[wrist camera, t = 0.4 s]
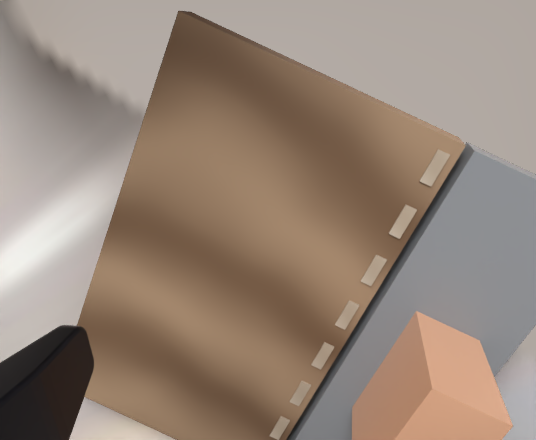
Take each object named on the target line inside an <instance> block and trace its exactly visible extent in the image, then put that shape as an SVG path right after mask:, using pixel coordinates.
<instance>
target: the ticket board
mask: <svg viewBox="0 0 536 440" xmlns="http://www.w3.org/2000/svg"><path fill="white" fill-rule="evenodd" d="M465 146H466V145H465V144H464V143H463V142H462V141H461V140H460V138H459V137H457V136H454V135H452V134H450V133H448V132H446V131H444V130H442V129H439V128H437V127H435V126H433V125H431V124H429V123H427V122H425V121H422V120H420V119H418V118H416V117H414V116H412V115H409V114H407V113H405V112H403V111H401V110H399V109H397V108H395V107H392V106H390V105H388V104H386V103H384V102H382V101H380V100H378V99H375V98H373V97H371V96H369V95H367V94H364V93H363V92H360V91H358V90H356V89H354V88H352V87H350V86H348V85H346V84H343V83H341V82H339V81H337V80H335V79H333V78H331V77H328V76H326V75H324V74H322V73H320V72H318V71H316V70H314V69H311V68H309V67H307V66H305V65H303V64H301V63H299V62H296V61H294V60H292V59H290V58H288V57H286V56H284V55H282V54H279V53H277V52H275V51H273V50H271V49H269V48H267V47H265V46H262V45H260V44H258V43H256V42H254V41H251V40H250V39H247V38H245V37H243V36H241V35H239V34H237V33H234V32H233V31H230V30H228V29H226V28H224V27H222V26H219V25H218V24H215V23H213V22H211V21H209V20H207V19H205V18H202V17H200V16H198V15H196V14H194V13H192V12H186V11H178V14H177V17H176V20H175V24H174V26H173V29H172V33H171V36H170V39H169V42H168V45H167V48H166V51H165V54H164V57H163V61H162V64H161V67H160V70H159V73H158V76H157V79H156V82H155V85H154V88H153V91H152V95H151V98H150V101H149V104H148V107H147V110H146V113H145V116H144V119H143V122H142V126H141V129H140V132H139V135H138V138H137V141H136V144H135V147H134V150H133V153H132V157H131V160H130V163H129V166H128V169H127V172H126V175H125V178H124V181H123V184H122V188H121V191H120V194H119V197H118V200H117V203H116V206H115V209H114V212H113V215H112V219H111V222H110V225H109V228H108V231H107V234H106V237H105V240H104V243H103V246H102V250H101V253H100V256H99V259H98V262H97V265H96V268H95V271H94V274H93V277H92V281H91V284H90V287H89V290H88V293H87V296H86V299H85V302H84V305H83V308H82V312H81V315H80V318H79V321H78V324H77V326H81V327H84V328H85V330H86V332H87V335H88V339H89V342H90V346H91V350H92V354H93V357H94V369H93V373H92V376H91V379H90V382H89V385H88V388H87V390H86V393H85V396H84V397H86V398H88V399H90V400H93V401H95V402H97V403H99V404H101V405H103V406H105V407H108V408H110V409H112V410H114V411H116V412H118V413H121V414H123V415H125V416H127V417H129V418H131V419H133V420H136V421H138V422H140V423H142V424H144V425H146V426H148V427H151V428H153V429H155V430H157V431H159V432H161V433H163V434H166V435H168V436H170V437H172V438H174V439H176V440H286V439H287V437H288V436H289V434H290V433H291V431H292V429H293V428H294V426H295V424H296V423H297V421H298V419H299V418H300V416H301V415H302V413H303V411H304V410H305V408H306V406H307V405H308V403H309V401H310V400H311V398H312V397H313V395H314V393H315V392H316V390H317V388H318V387H319V385H320V383H321V382H322V380H323V379H324V377H325V375H326V374H327V372H328V370H329V369H330V367H331V365H332V364H333V362H334V361H335V359H336V357H337V356H338V354H339V352H340V351H341V349H342V347H343V346H344V344H345V343H346V341H347V339H348V338H349V336H350V334H351V333H352V331H353V329H354V328H355V326H356V325H357V323H358V321H359V320H360V318H361V316H362V315H363V313H364V312H365V310H366V308H367V307H368V305H369V303H370V302H371V300H372V298H373V297H374V295H375V294H376V292H377V290H378V289H379V287H380V285H381V284H382V282H383V280H384V279H385V277H386V276H387V274H388V272H389V271H390V269H391V267H392V266H393V264H394V262H395V261H396V259H397V258H398V256H399V254H400V253H401V251H402V249H403V248H404V246H405V244H406V243H407V241H408V240H409V238H410V236H411V235H412V233H413V231H414V230H415V228H416V226H417V225H418V223H419V222H420V220H421V218H422V217H423V215H424V213H425V212H426V210H427V208H428V207H429V205H430V204H431V202H432V200H433V199H434V197H435V195H436V194H437V192H438V190H439V189H440V187H441V186H442V184H443V182H444V181H445V179H446V177H447V176H448V174H449V172H450V171H451V169H452V168H453V166H454V164H455V163H456V161H457V159H458V158H459V156H460V154H461V153H462V151H463V150H464V148H465Z"/></svg>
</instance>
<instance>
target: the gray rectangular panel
mask: <svg viewBox="0 0 536 440" xmlns="http://www.w3.org/2000/svg"><path fill="white" fill-rule="evenodd" d="M465 145H466V146H465V148H464V150H463V151H462V153H461V154H460V156H459V158H458V159H457V161H456V163H455V164H454V166H453V168H452V169H451V171H450V172H449V174H448V176H447V177H446V179H445V181H444V182H443V184H442V186H441V187H440V189H439V190H438V192H437V194H436V195H435V197H434V199H433V200H432V202H431V204H430V205H429V207H428V208H427V210H426V212H425V213H424V215H423V217H422V218H421V220H420V222H419V223H418V225H417V226H416V228H415V230H414V231H413V233H412V235H411V236H410V238H409V240H408V241H407V243H406V244H405V246H404V248H403V249H402V251H401V253H400V254H399V256H398V258H397V259H396V261H395V262H394V264H393V266H392V267H391V269H390V271H389V272H388V274H387V276H386V277H385V279H384V280H383V282H382V284H381V285H380V287H379V289H378V290H377V292H376V294H375V295H374V297H373V298H372V300H371V302H370V303H369V305H368V307H367V308H366V310H365V312H364V313H363V315H362V316H361V318H360V320H359V321H358V323H357V325H356V326H355V328H354V329H353V331H352V333H351V334H350V336H349V338H348V339H347V341H346V343H345V344H344V346H343V347H342V349H341V351H340V352H339V354H338V356H337V357H336V359H335V361H334V362H333V364H332V365H331V367H330V369H329V370H328V372H327V374H326V375H325V377H324V379H323V380H322V382H321V383H320V385H319V387H318V388H317V390H316V392H315V393H314V395H313V397H312V398H311V400H310V401H309V403H308V405H307V406H306V408H305V410H304V411H303V413H302V415H301V416H300V418H299V419H298V421H297V423H296V424H295V426H294V428H293V429H292V431H291V433H290V434H289V436H288V437H287V439H286V440H502V438H503V437H504V436H505V435H506V434H507V433H508V432H509V430H510V429H511V428H512V427H513V425H512V422H511V420H510V417H509V415H508V412H507V409H506V407H505V404H504V402H503V399H502V397H501V394H500V391H499V389H498V386H497V384H496V381H495V379H494V377H495V375H496V374H497V373H498V372H499V370H500V369H501V368H502V367H503V365H504V364H505V363H506V362H507V360H508V359H509V358H510V357H511V355H512V354H513V353H514V351H515V350H516V349H517V348H518V346H519V345H520V344H521V343H522V341H523V340H524V339H525V338H526V336H527V335H528V334H529V333H530V331H531V330H532V329H533V328H534V326H535V325H536V174H533V173H531V172H529V171H527V170H525V169H523V168H521V167H519V166H517V165H514V164H512V163H510V162H508V161H506V160H504V159H502V158H499V157H497V156H495V155H493V154H491V153H489V152H487V151H485V150H482V149H480V148H478V147H476V146H474V145H471V144H470V143H466V144H465Z"/></svg>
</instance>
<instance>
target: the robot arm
mask: <svg viewBox="0 0 536 440" xmlns="http://www.w3.org/2000/svg"><path fill="white" fill-rule="evenodd" d="M93 369H94V357H93V354H92V350H91V346H90V342H89V339H88V335H87V332H86V330H85V328H84V327H81V326H73V325H62V326H59V327H57V328H56V329H54V330H53V331H51V332H49V333H48V334H46V335H44V336H43V337H41V338H40V339H38V340H36V341H35V342H33V343H31V344H30V345H28V346H27V347H25V348H23V349H22V350H20V351H19V352H17V353H15V354H14V355H12V356H10V357H9V358H7V359H6V360H4V361H2V362H1V363H0V440H69V438H70V435H71V433H72V430H73V427H74V424H75V421H76V419H77V416H78V413H79V410H80V407H81V404H82V402H83V399H84V396H85V393H86V390H87V388H88V385H89V382H90V379H91V376H92V373H93Z"/></svg>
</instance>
